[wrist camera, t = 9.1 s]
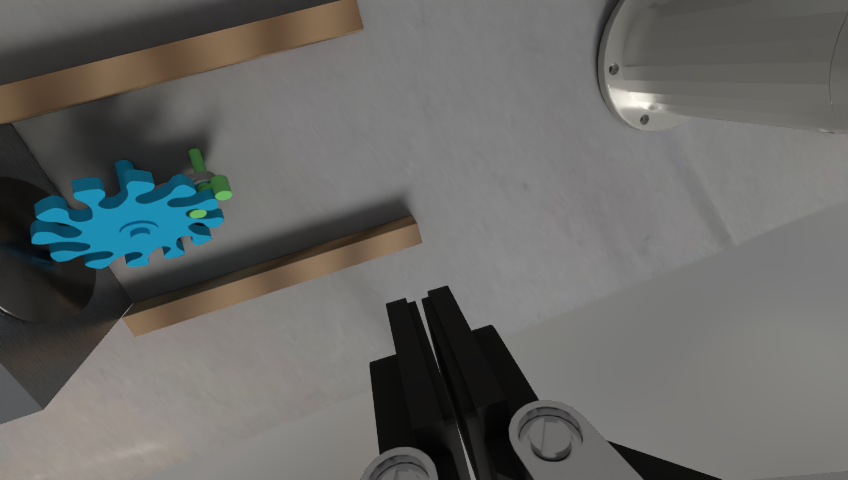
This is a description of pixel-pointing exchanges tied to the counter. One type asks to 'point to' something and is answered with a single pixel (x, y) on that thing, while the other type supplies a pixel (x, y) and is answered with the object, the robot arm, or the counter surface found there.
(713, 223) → the counter surface
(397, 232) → the channel rails
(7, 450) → the counter surface
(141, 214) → the gear
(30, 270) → the plate with round knob
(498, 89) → the counter surface
